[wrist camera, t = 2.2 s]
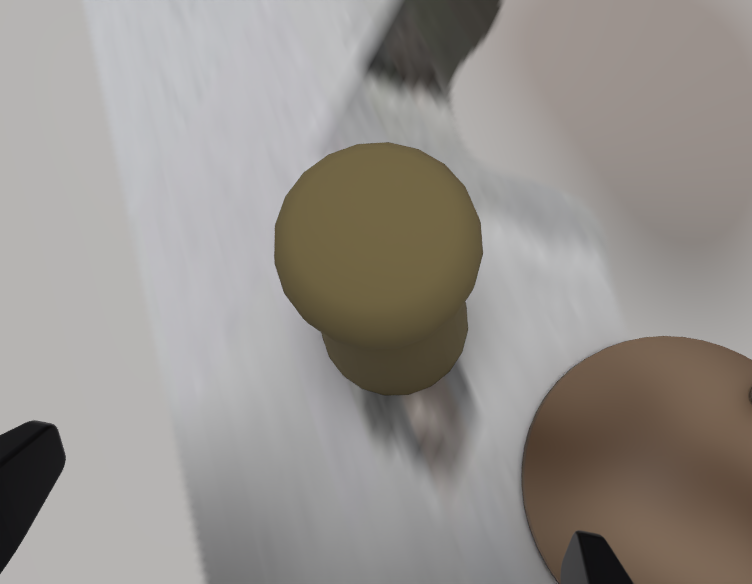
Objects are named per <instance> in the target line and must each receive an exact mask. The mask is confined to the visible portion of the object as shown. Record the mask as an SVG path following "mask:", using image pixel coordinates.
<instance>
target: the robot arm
mask: <svg viewBox="0 0 752 584" xmlns="http://www.w3.org/2000/svg"><path fill="white" fill-rule="evenodd" d="M65 460H66V456H65V452H64V448H63V445H62V442H61V438H60V435H59V432H58V429H57V427H56V426H55V425H54V424H51V423H46V422H41V421H29V422H27V423H24V424H22V425H20V426H18V427H16V428H14V429H12V430H10V431H8V432H6V433H4V434H2V435H0V574H1V572H2V571H3V569H4V568H5V567H6V565H7V564H8V562H9V561H10V559H11V558H12V556H13V554H14V553H15V552H16V550H17V549H18V547H19V545H20V544H21V542H22V540H23V539H24V537H25V535H26V534H27V532H28V530H29V528H30V527H31V525H32V523H33V521H34V520H35V518H36V516H37V514H38V512H39V511H40V509H41V507H42V506H43V504H44V502H45V500H46V499H47V497H48V495H49V493H50V491H51V490H52V488H53V486H54V484H55V483H56V481H57V479H58V477H59V476H60V474H61V472H62V470H63V468H64V465H65ZM560 579H561V584H634V583H633V581H632V579H631V578H630V576H629V575H628V573H627V572H626V570H625V569H624V567H623V565H622V564H621V562H620V561H619V559H618V558H617V556H616V555H615V553H614V552H613V550H612V548H611V547H610V545H609V544H608V542H607V541H606V539H605V538H604V537H603V536H601V535H600V534H597V533H592V532H587V531H582V530H577V531H575V532H574V534H573V535H572V538H571V540H570V543H569V545H568V548H567V550H566V553H565V555H564V558H563V561H562V565H561V576H560Z"/></svg>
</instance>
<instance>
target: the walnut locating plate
mask: <svg viewBox="0 0 752 584" xmlns="http://www.w3.org/2000/svg"><path fill="white" fill-rule="evenodd" d="M522 492H523V500H524V507H525V511H526V515H527V519H528V523H529V527H530V530H531V532H532V535H533V537H534V540H535V543H536V545H537V548H538V550H539V552H540V553H541V555H542V557H543V559H544V561H545V563H546V565H547V567H548V568H549V570H550V571H551V573H552V574H553V575H554V577H555V578H556V580H557V581H558V583H559V584H561V579H560V576H561V565H562V561H563V558H564V555H565V553H566V550H567V548H568V545H569V543H570V540H571V538H572V535H573V534H574V532H575V531H577V530H582V531H587V532H592V533H597V534H600V535H601V536H603V537H604V538H605V539H606V541H607V542H608V544H609V545H610V547H611V548H612V550H613V552H614V553H615V555H616V556H617V558H618V559H619V561H620V562H621V564H622V565H623V567H624V569H625V570H626V572H627V573H628V575H629V576H630V578H631V579H632V581H633V583H634V584H752V360H751V359H749V358H747V357H745V356H743V355H741V354H739V353H737V352H735V351H732V350H730V349H728V348H725V347H723V346H720V345H716V344H713V343H710V342H706V341H703V340H697V339H691V338H686V337H671V336H658V337H645V338H639V339H635V340H630V341H625V342H622V343H619V344H617V345H614V346H611V347H608V348H606V349H604V350H602V351H600V352H598V353H596V354H594V355H592V356H590V357H588V358H586V359H584V360H583V361H582V362H580V363H579V364H577V365H576V366H574V367H573V368H572V369H570V370H569V371H568V372H567V373H566V374H565V375H564V376H563V377H562V378H561V379H560V380H559V381H557V383H556V384H555V385H554V386H553V388H552V389H551V390H550V391H549V393H548V394H547V395H546V396H545V398H544V400H543V402H542V403H541V405H540V407H539V408H538V410H537V412H536V414H535V416H534V419H533V421H532V424H531V426H530V428H529V432H528V436H527V439H526V443H525V447H524V454H523V462H522Z"/></svg>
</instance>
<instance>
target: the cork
mask: <svg viewBox="0 0 752 584" xmlns="http://www.w3.org/2000/svg"><path fill="white" fill-rule="evenodd" d="M482 255H483V247H482V234H481V222H480V220H479V217H478V215H477V212H476V210H475V208H474V206H473V203H472V201H471V199H470V196H469V194H468V192H467V190H466V187H465V186H464V185H463V184H462V183H461V182H460V180H459V179H458V178H457V177H456V176H455V175H454V174H453V173H452V172H451V171H450V169H449V168H448V167H447V166H446V165H445V164H443V163H442V162H440V161H438V160H436V159H435V158H433V157H431V156H429V155H428V154H426V153H424V152H422V151H421V150H419V149H415V148H411V147H407V146H402V145H398V144H393V143H389V142H386V143H370V144H357V145H354V146H351V147H349V148H346V149H343V150H340V151H337V152H335V153H332V154H329V155H327V156H326V157H325V158H323V159H322V160H320V161H319V162H318V163H316V164H315V165H314V166H312V167H311V168H309V169H308V170H307V171H305V172H304V173H303V174H302V175H301V177H300V178H299V179H298V181H297V182H296V183H295V185H294V186H293V187H292V189H291V190H290V191H289V193H288V194H287V195H286V197H285V199H284V202H283V204H282V207H281V210H280V213H279V216H278V218H277V221H276V224H275V251H274V258H275V266H276V269H277V272H278V275H279V279H280V282H281V285H282V288H283V291H284V294H285V295H286V296H287V298H288V299H289V300H290V302H291V303H292V304H293V306H294V307H295V308H296V310H297V311H298V312H299V314H300V315H301V316H302V318H303V319H304V320H305V321H306V322H307V323H309V324H310V325H312V326H313V327H314V328H316V329H317V330H319V331H320V332H321V333H322V337H323V340H324V343H325V346H326V349H327V352H328V355H329V357H330V359H331V360H332V361H333V363H334V364H335V365H336V367H337V368H338V369H339V371H340V372H341V373H342V375H343V376H344V377H346V378H347V379H349V380H350V381H352V382H353V383H355V384H356V385H357V386H359V387H360V388H362V389H365V390H368V391H372V392H375V393H378V394H382V395H409V394H412V393H414V392H417V391H420V390H422V389H425V388H428V387H431V386H432V385H433V384H435V383H436V382H437V381H438V380H440V379H441V378H442V377H443V376H445V375H446V374H447V373H448V372H450V370H451V369H452V367H453V365H454V364H455V362H456V361H457V359H458V358H459V356H460V355H461V353H462V351H463V347H464V343H465V339H466V336H467V332H468V322H467V308H466V303H465V301H466V299H467V298H468V296H469V295H470V293H471V292H472V290H473V288H474V285H475V282H476V278H477V274H478V271H479V267H480V263H481V259H482Z"/></svg>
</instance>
